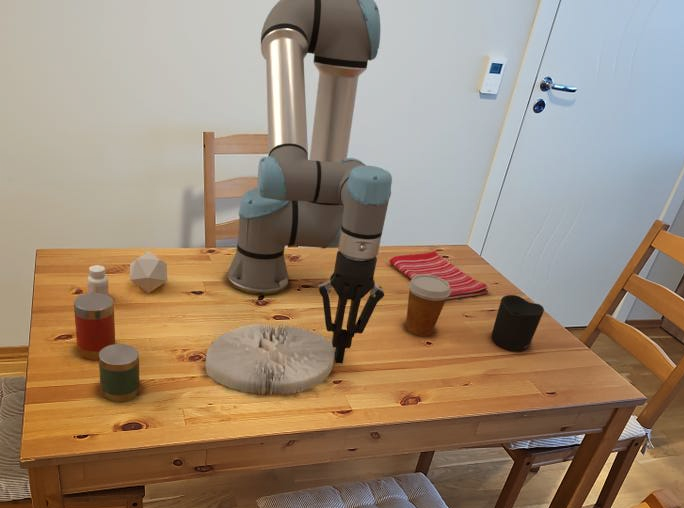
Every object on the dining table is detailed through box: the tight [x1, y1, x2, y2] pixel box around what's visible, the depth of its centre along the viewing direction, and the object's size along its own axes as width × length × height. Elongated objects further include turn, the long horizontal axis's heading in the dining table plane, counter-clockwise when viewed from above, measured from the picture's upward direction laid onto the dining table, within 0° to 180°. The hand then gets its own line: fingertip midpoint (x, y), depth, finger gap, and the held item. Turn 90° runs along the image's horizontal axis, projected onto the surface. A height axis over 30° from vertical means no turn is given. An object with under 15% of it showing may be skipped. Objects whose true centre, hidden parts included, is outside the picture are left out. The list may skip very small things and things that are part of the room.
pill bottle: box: [87, 264, 110, 296], centre depth 142 cm, size 4×4×8 cm
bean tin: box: [98, 343, 140, 402], centre depth 115 cm, size 7×7×8 cm
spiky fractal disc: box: [204, 323, 336, 396], centre depth 130 cm, size 22×28×3 cm
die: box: [129, 250, 168, 294], centre depth 150 cm, size 8×9×10 cm
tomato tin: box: [73, 292, 116, 361], centre depth 124 cm, size 7×7×11 cm
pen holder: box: [490, 294, 545, 353], centre depth 146 cm, size 9×9×10 cm
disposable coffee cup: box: [405, 275, 451, 337], centre depth 146 cm, size 10×10×12 cm
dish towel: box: [389, 251, 489, 301], centre depth 174 cm, size 17×24×3 cm
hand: (338, 359), depth 131 cm, fingers closed
